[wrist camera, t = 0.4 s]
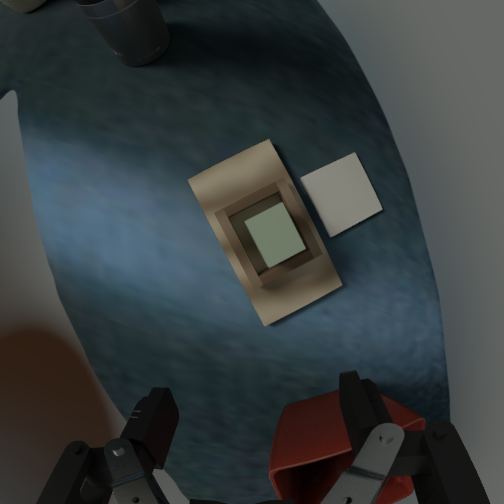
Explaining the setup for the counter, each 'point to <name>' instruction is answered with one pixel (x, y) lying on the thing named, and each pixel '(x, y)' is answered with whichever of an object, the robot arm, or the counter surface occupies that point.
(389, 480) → the plant pot
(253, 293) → the puzzle board
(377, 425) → the robot arm
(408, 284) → the counter surface
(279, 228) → the sage block
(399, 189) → the counter surface
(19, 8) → the canister
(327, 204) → the white tile
